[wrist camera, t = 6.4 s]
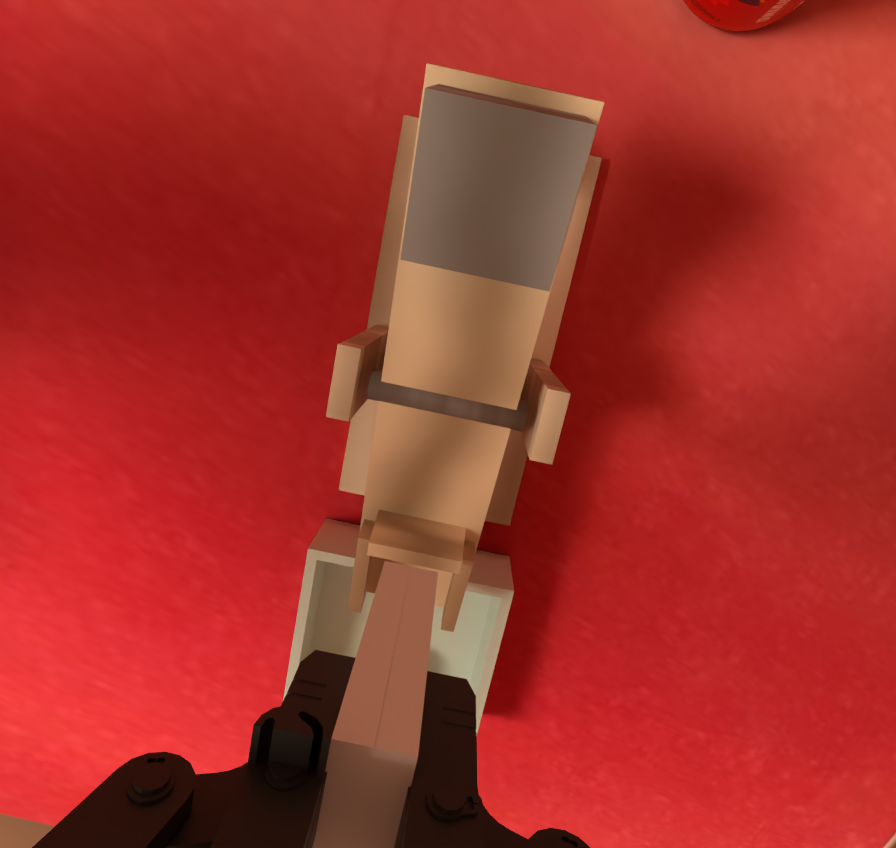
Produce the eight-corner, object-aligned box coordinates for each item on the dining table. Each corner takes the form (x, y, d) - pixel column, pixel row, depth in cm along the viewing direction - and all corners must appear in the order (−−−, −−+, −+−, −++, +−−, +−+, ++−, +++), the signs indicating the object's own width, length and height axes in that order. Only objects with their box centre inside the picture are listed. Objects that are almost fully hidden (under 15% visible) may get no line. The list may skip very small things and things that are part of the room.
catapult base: (341, 485, 39) (290, 567, 28) (405, 118, 33) (373, 41, 22) (508, 521, 39) (523, 616, 28) (598, 160, 33) (660, 104, 23)
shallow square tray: (299, 677, 42) (279, 723, 38) (326, 518, 39) (307, 548, 35) (469, 712, 42) (469, 762, 38) (509, 556, 39) (514, 591, 35)
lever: (347, 572, 34) (324, 640, 30) (417, 60, 21) (393, 59, 17) (468, 597, 34) (462, 668, 30) (614, 103, 21) (637, 113, 17)
